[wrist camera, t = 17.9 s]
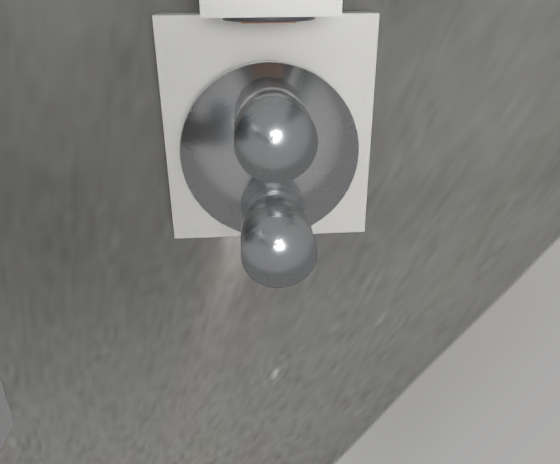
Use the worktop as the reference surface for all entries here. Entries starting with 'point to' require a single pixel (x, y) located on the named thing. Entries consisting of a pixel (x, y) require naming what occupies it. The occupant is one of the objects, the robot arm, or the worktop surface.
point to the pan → (221, 155)
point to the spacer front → (273, 131)
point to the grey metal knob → (276, 234)
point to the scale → (261, 47)
